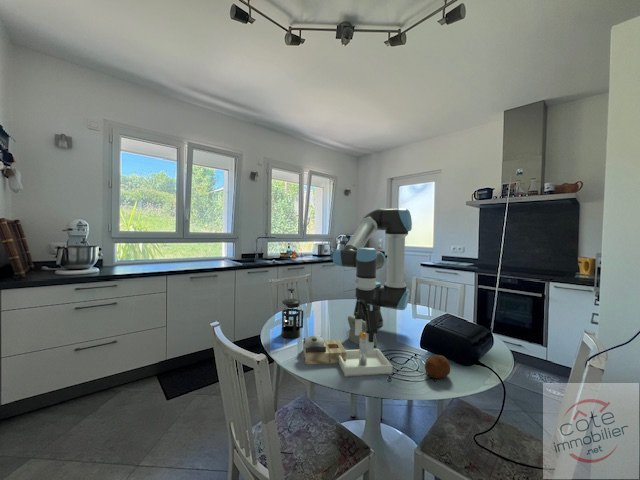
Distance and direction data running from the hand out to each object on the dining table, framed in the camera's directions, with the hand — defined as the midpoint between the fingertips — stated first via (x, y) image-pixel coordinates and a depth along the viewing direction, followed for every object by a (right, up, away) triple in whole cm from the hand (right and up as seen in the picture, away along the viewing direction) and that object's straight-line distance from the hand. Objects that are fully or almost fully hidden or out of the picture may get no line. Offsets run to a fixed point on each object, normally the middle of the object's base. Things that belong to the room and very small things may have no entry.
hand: (363, 342), depth 103 cm
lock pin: (0, -9, 0) cm, 9 cm away
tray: (0, -9, 0) cm, 9 cm away
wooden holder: (-16, -9, +7) cm, 19 cm away
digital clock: (+3, -9, +23) cm, 25 cm away
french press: (-31, -7, +28) cm, 42 cm away
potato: (+26, -10, -5) cm, 29 cm away
